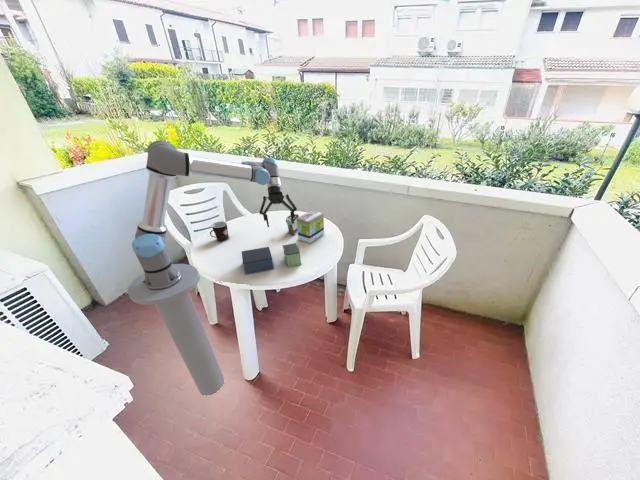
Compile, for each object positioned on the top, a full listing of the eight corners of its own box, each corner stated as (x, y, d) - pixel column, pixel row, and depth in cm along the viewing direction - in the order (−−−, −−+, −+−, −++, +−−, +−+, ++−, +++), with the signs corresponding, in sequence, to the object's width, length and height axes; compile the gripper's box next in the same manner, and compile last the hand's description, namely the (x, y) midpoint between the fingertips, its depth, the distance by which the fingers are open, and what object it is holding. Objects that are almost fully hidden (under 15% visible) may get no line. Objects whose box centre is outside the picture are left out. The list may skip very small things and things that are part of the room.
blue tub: (245, 274, 145) (242, 263, 141) (244, 262, 155) (241, 251, 151) (274, 268, 150) (272, 257, 146) (270, 257, 159) (268, 246, 155)
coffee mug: (227, 234, 181) (223, 220, 176) (232, 239, 176) (229, 224, 171) (208, 240, 175) (204, 225, 169) (213, 245, 170) (209, 230, 164)
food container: (291, 226, 192) (289, 213, 186) (300, 227, 191) (298, 214, 185) (284, 235, 182) (282, 220, 176) (293, 236, 181) (291, 221, 175)
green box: (287, 267, 151) (285, 254, 147) (284, 257, 159) (282, 245, 155) (301, 264, 154) (299, 252, 149) (297, 255, 162) (295, 243, 157)
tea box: (310, 243, 173) (309, 221, 164) (298, 239, 177) (295, 218, 168) (324, 234, 184) (323, 213, 175) (312, 230, 188) (310, 209, 179)
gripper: (296, 187, 163) (302, 223, 163) (250, 191, 155) (257, 228, 155) (297, 183, 156) (304, 221, 156) (250, 186, 148) (257, 226, 148)
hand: (280, 225), depth 156 cm, fingers open, 13 cm apart
